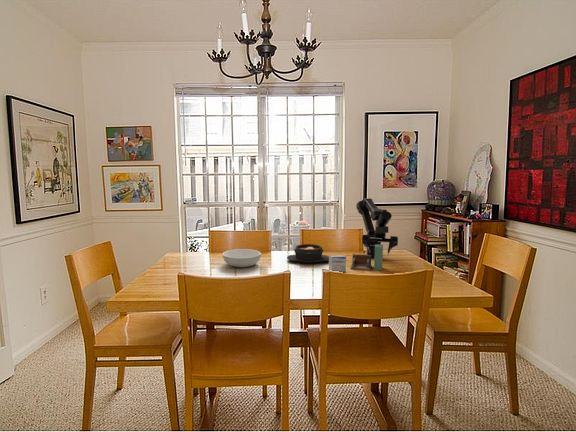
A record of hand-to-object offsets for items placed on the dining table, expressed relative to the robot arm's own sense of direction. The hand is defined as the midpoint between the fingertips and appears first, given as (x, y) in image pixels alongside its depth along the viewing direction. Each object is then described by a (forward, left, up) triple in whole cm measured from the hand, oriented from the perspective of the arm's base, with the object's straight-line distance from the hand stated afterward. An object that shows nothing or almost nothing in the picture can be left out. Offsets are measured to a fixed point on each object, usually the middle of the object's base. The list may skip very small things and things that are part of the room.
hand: (379, 253), depth 189 cm
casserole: (+3, -39, -8) cm, 40 cm away
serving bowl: (+28, -68, -8) cm, 74 cm away
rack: (+2, -9, -8) cm, 12 cm away
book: (+1, 0, -8) cm, 8 cm away
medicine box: (+17, -17, -8) cm, 25 cm away
